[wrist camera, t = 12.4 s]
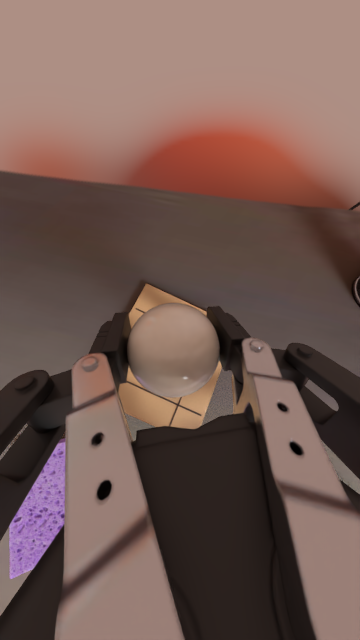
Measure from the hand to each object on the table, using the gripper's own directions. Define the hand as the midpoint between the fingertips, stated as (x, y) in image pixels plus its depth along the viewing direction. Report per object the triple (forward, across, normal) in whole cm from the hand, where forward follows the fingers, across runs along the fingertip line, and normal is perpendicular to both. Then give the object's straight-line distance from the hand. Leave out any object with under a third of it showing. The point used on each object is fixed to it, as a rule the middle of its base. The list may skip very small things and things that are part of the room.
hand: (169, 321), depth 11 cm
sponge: (-1, +17, +26) cm, 31 cm away
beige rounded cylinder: (+2, 0, +5) cm, 6 cm away
